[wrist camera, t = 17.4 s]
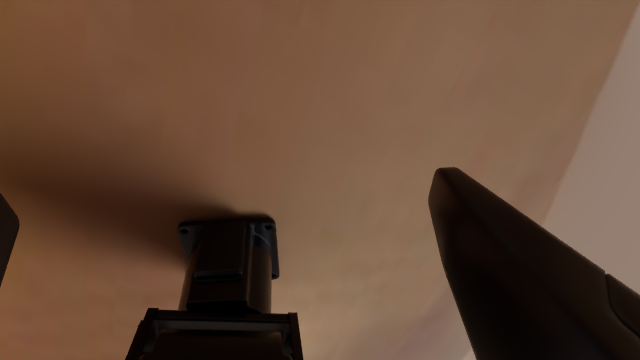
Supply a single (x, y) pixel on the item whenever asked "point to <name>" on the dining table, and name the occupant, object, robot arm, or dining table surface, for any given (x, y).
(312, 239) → the dining table surface
